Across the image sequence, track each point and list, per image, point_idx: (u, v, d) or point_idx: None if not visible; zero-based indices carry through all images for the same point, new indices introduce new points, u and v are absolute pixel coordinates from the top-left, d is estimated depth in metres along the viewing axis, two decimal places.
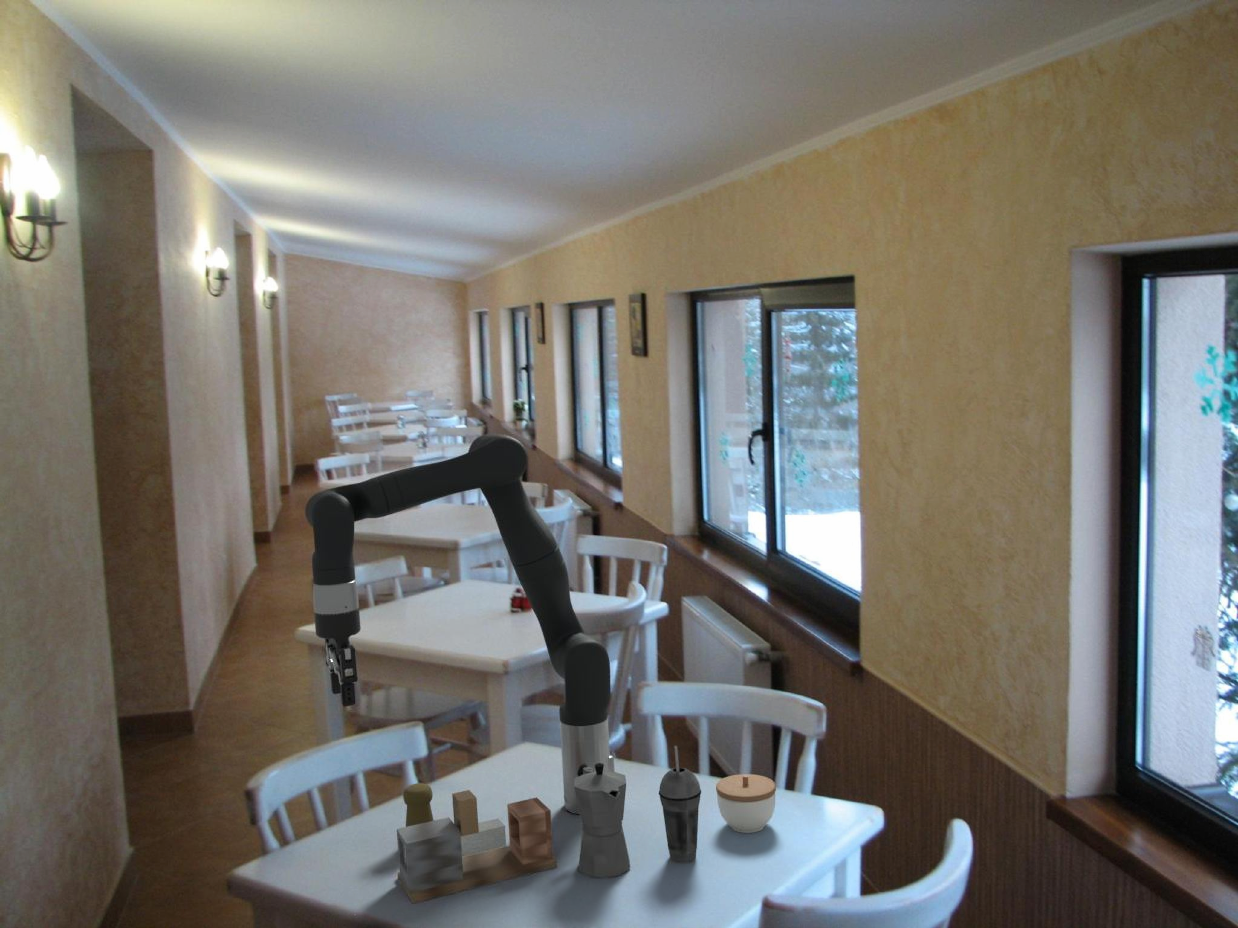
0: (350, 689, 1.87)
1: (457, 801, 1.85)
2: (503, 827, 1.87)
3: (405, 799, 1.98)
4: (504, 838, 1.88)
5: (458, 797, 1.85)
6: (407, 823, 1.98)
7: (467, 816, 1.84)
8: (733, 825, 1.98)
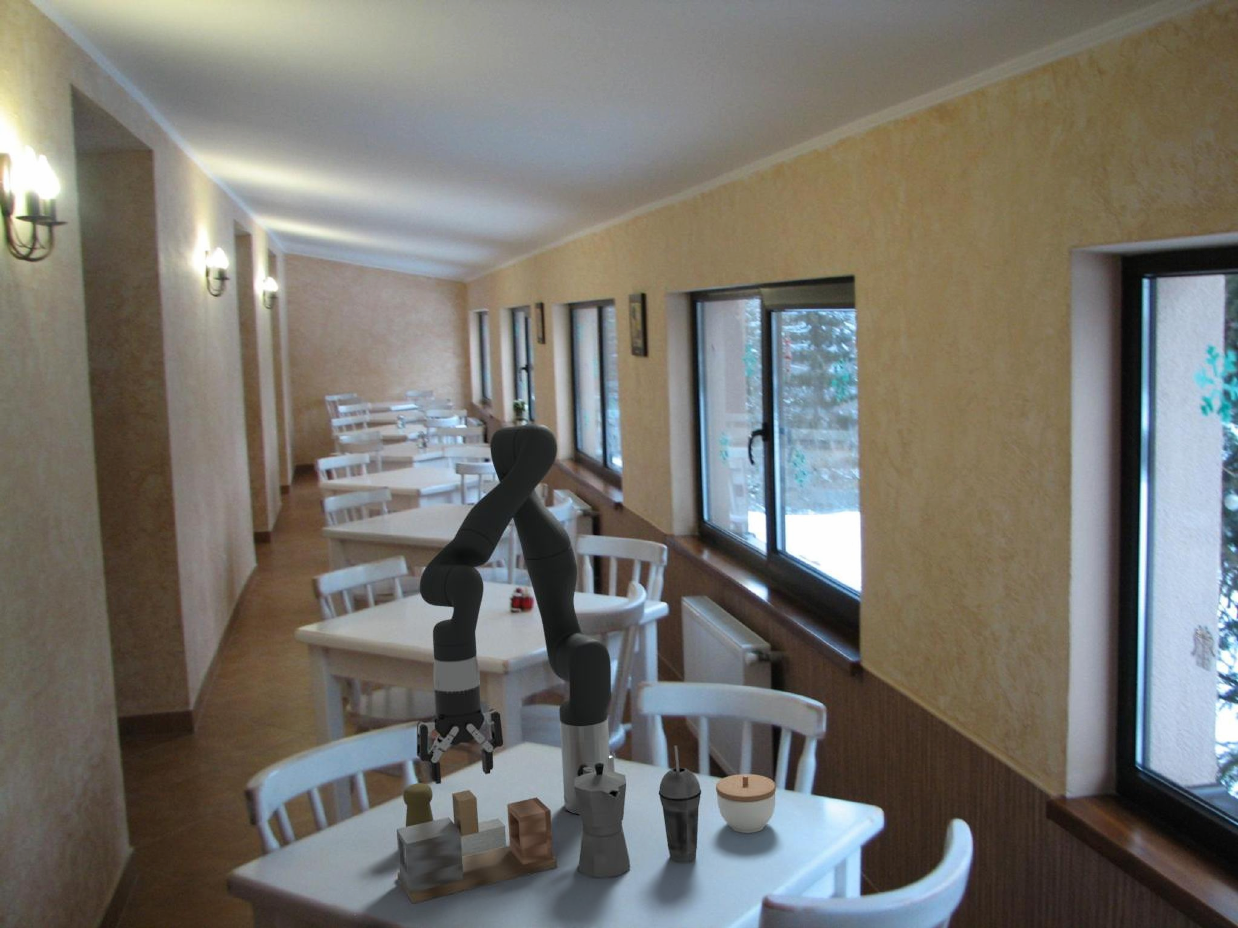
0: None
1: (457, 801, 1.85)
2: (503, 827, 1.87)
3: (405, 799, 1.98)
4: (504, 838, 1.88)
5: (458, 797, 1.85)
6: (407, 823, 1.98)
7: (467, 816, 1.84)
8: (733, 825, 1.98)
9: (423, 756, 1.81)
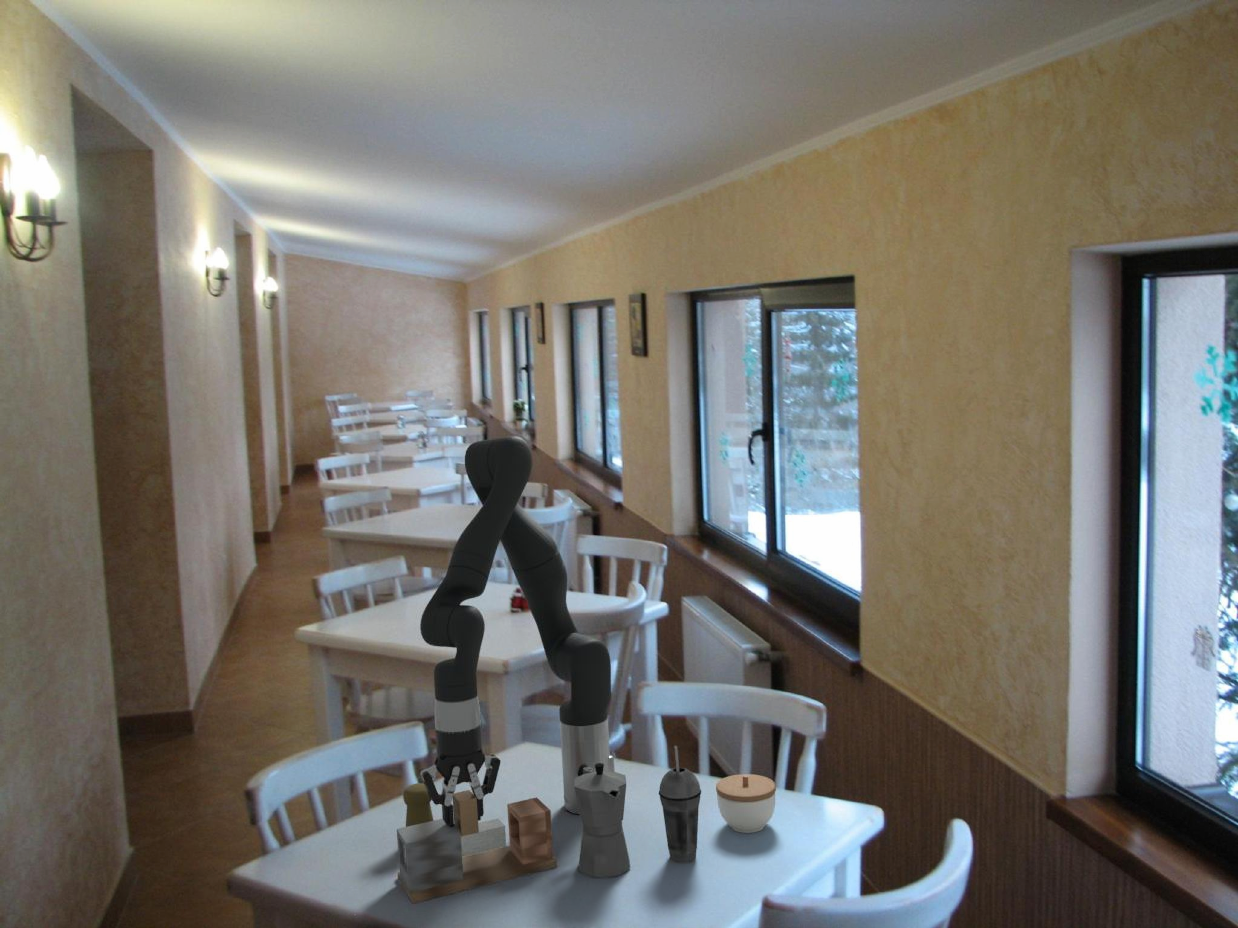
0: None
1: (457, 801, 1.85)
2: (503, 827, 1.87)
3: (405, 799, 1.98)
4: (504, 838, 1.88)
5: (458, 797, 1.85)
6: (407, 823, 1.98)
7: (467, 816, 1.84)
8: (733, 825, 1.98)
9: (436, 800, 1.83)
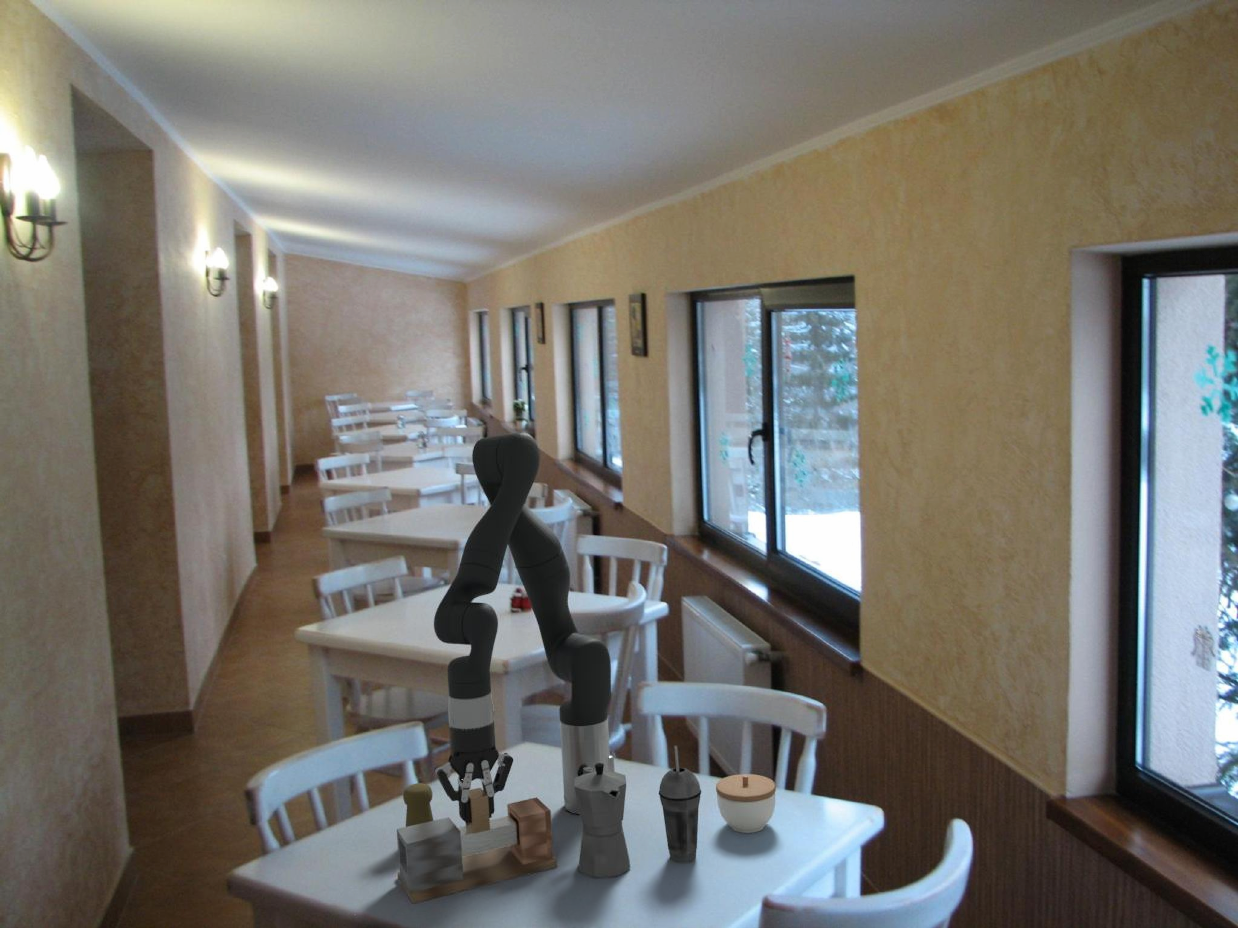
0: None
1: (469, 798, 1.85)
2: (514, 824, 1.88)
3: (405, 799, 1.98)
4: (515, 835, 1.89)
5: (469, 795, 1.86)
6: (407, 823, 1.98)
7: (478, 814, 1.85)
8: (733, 825, 1.98)
9: (453, 797, 1.84)
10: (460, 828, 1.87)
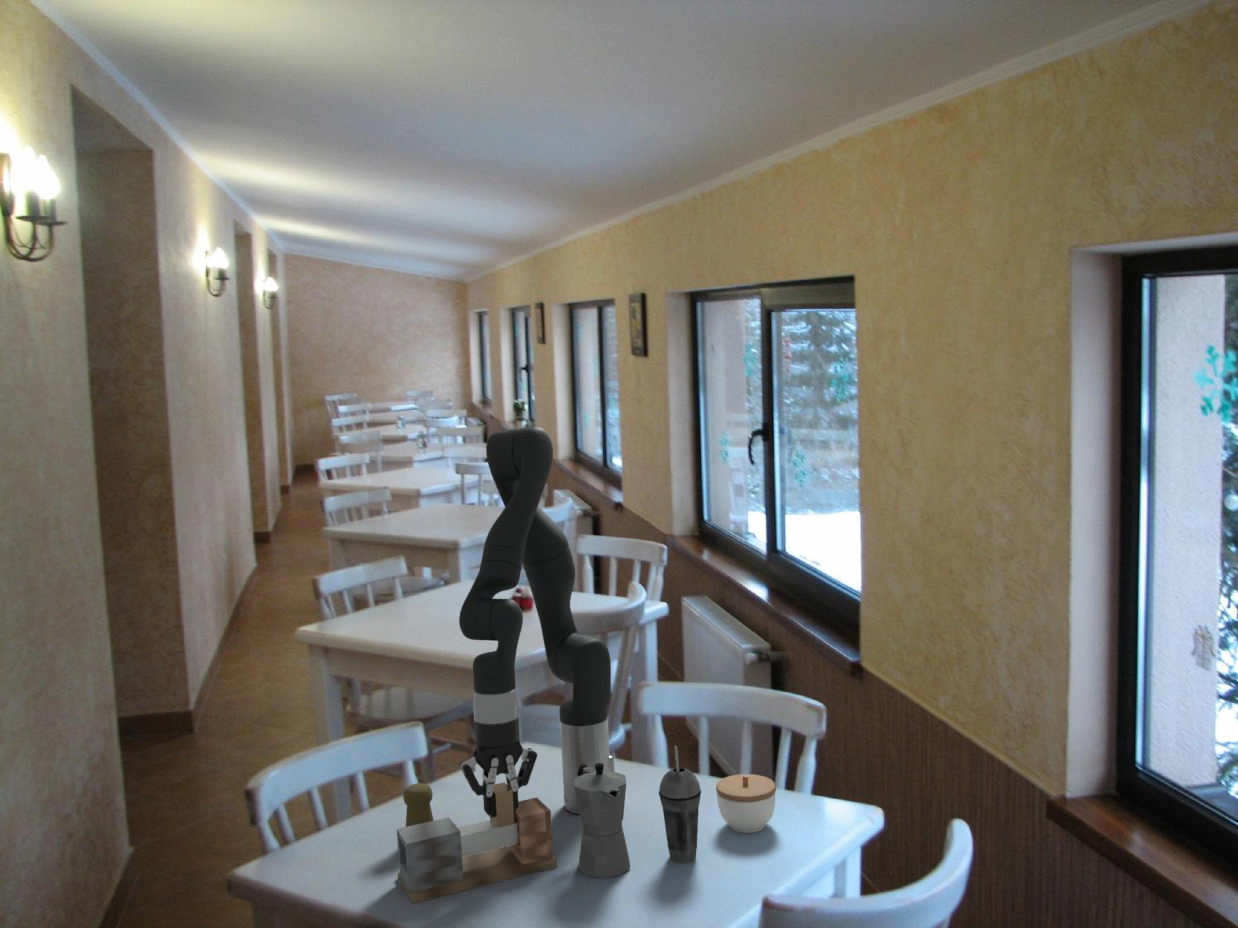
0: None
1: (493, 793, 1.87)
2: None
3: (405, 799, 1.98)
4: None
5: (494, 789, 1.88)
6: (407, 823, 1.98)
7: (503, 808, 1.87)
8: (733, 825, 1.98)
9: (478, 791, 1.86)
10: (484, 822, 1.89)
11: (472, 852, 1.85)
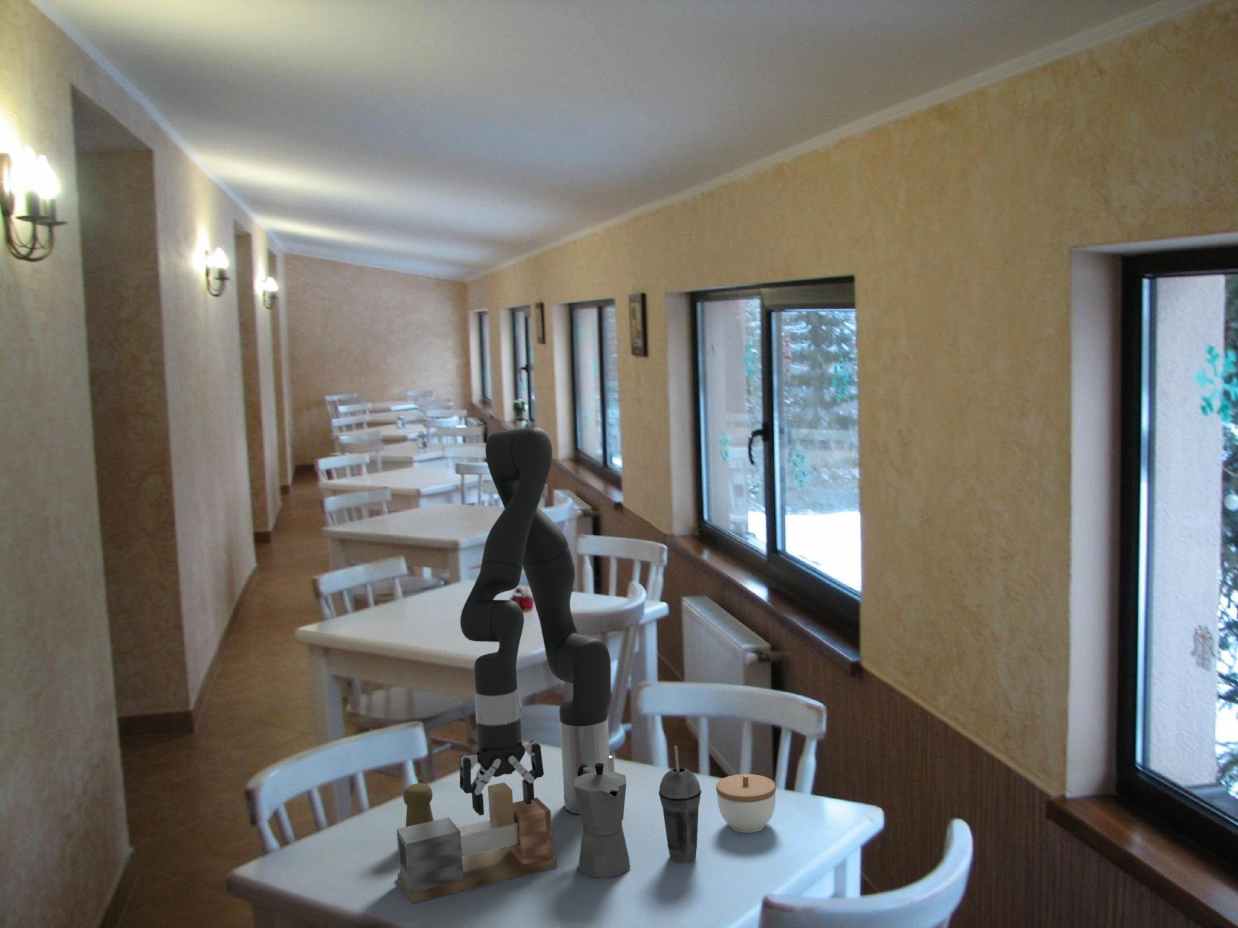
0: None
1: (493, 793, 1.87)
2: None
3: (405, 799, 1.98)
4: None
5: (493, 789, 1.88)
6: (407, 823, 1.98)
7: (502, 808, 1.87)
8: (733, 825, 1.98)
9: (466, 788, 1.85)
10: (484, 822, 1.89)
11: (471, 853, 1.85)
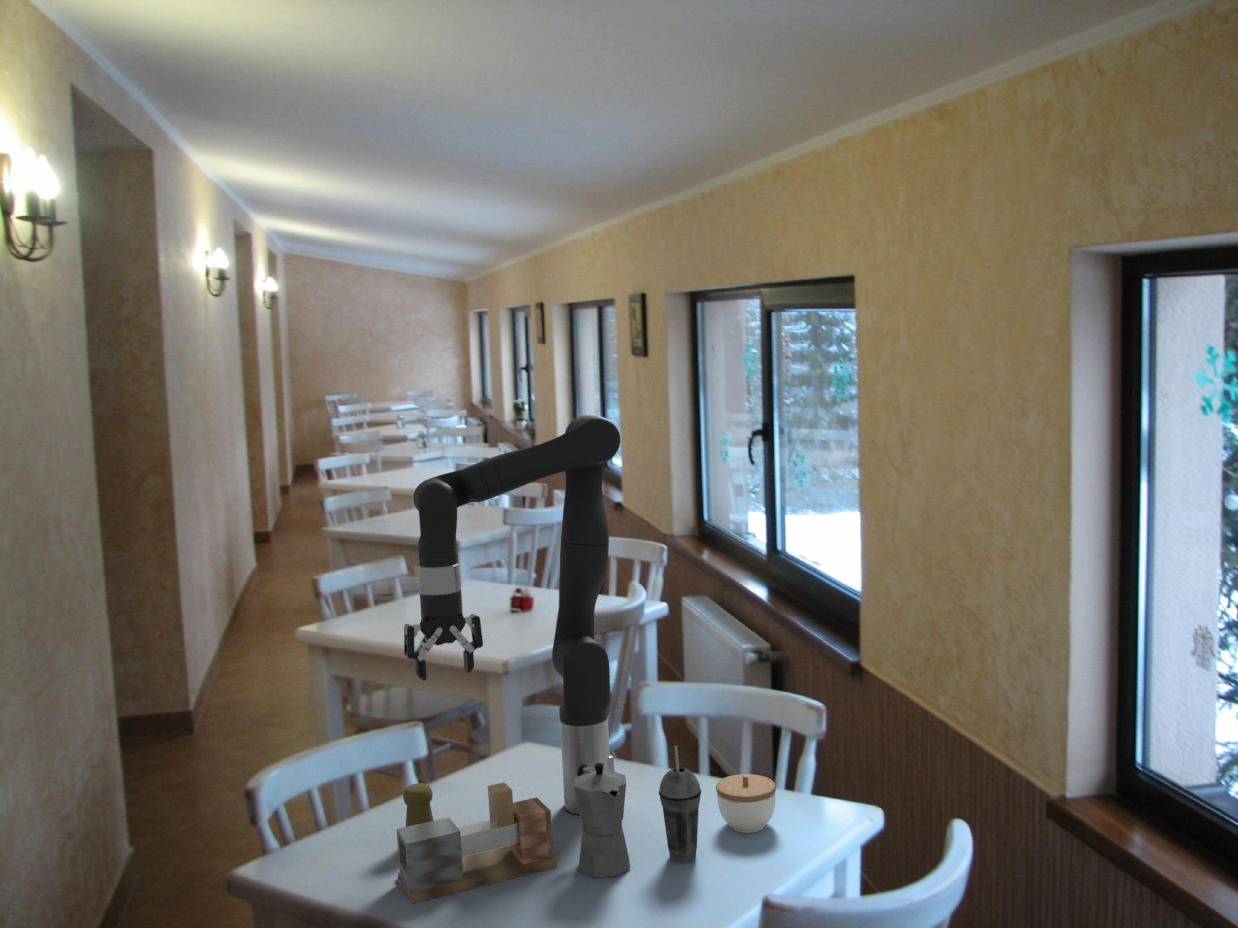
0: None
1: (493, 793, 1.87)
2: None
3: (405, 799, 1.98)
4: None
5: (493, 789, 1.88)
6: (407, 823, 1.98)
7: (502, 808, 1.87)
8: (733, 825, 1.98)
9: (410, 654, 1.99)
10: (484, 822, 1.89)
11: (471, 853, 1.85)
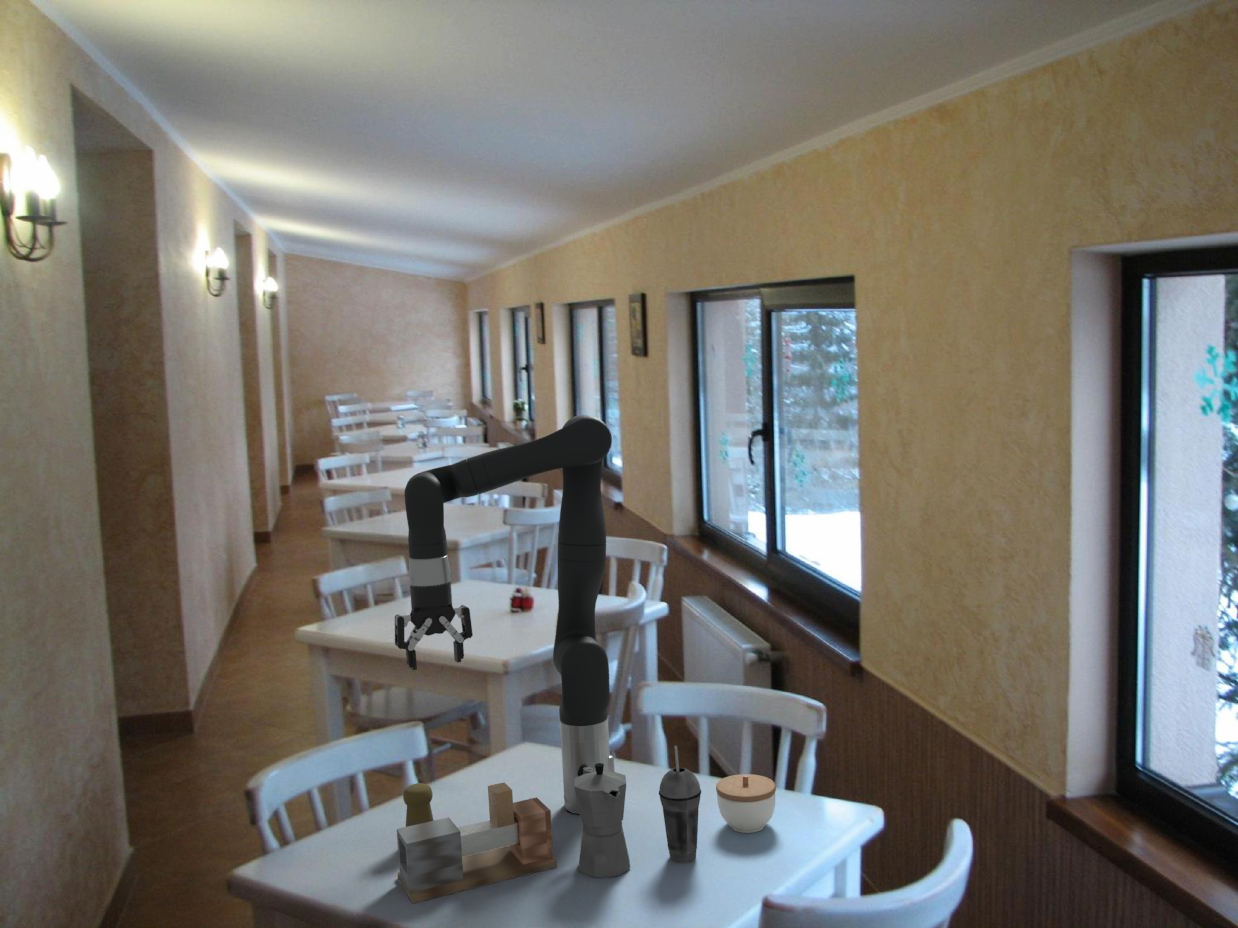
0: None
1: (493, 793, 1.87)
2: None
3: (405, 799, 1.98)
4: None
5: (493, 789, 1.88)
6: (407, 823, 1.98)
7: (502, 808, 1.87)
8: (733, 825, 1.98)
9: (400, 644, 2.03)
10: (484, 822, 1.89)
11: (471, 853, 1.85)
